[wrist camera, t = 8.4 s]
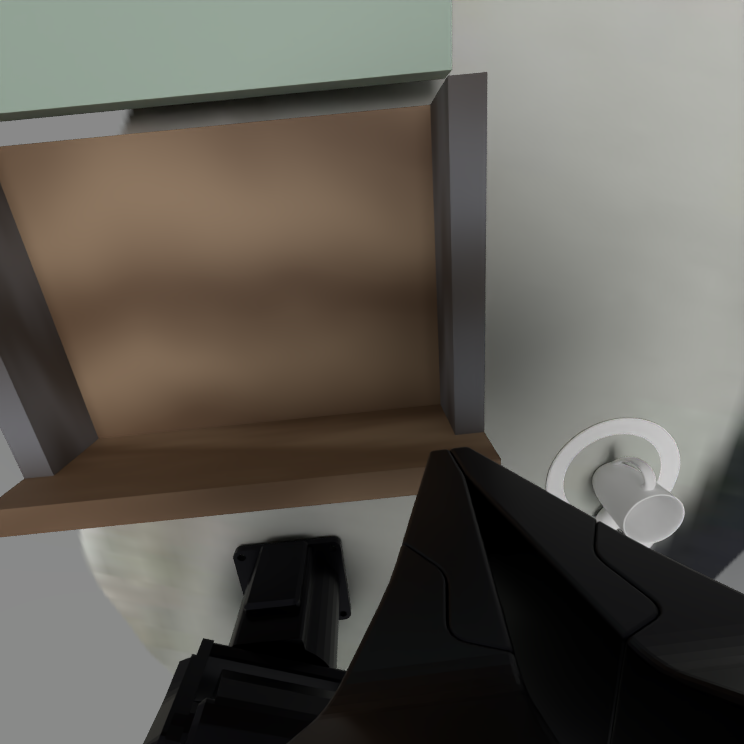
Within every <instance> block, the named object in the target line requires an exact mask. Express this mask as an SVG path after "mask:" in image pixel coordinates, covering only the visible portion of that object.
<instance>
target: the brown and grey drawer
mask: <svg viewBox="0 0 744 744" xmlns="http://www.w3.org/2000/svg"><path fill="white" fill-rule="evenodd" d="M486 164H487V72H483V73H473V74H462V75H452V76H448V77H447V78H446V80H445V82H444V83H443V85H442V86H441V88H440V90H439V91H438V93H437V95H436V96H435V98H434V99H433V101H432V103H431V104H430V105H423V106H413V107H403V108H393V109H382V110H372V111H362V112H351V113H341V114H331V115H320V116H310V117H300V118H290V119H279V120H269V121H259V122H248V123H238V124H228V125H218V126H207V127H197V128H187V129H176V130H166V131H156V132H145V133H135V134H125V135H115V136H105V137H94V138H84V139H73V140H63V141H53V142H42V143H32V144H23V145H12V146H2V147H0V428H1V430H2V433H3V435H4V437H5V439H6V441H7V443H8V445H9V447H10V449H11V451H12V453H13V455H14V457H15V460H16V462H17V463H18V466H19V468H20V470H21V472H22V474H23V476H24V478H25V479H24V480H22V481H21V482H20V483H18V484H17V485H16V486H14V487H13V488H12V489H10V490H9V491H8V492H6V493H5V494H4V495H3V496H1V497H0V537H7V536H17V535H27V534H37V533H46V532H56V531H65V530H76V529H86V528H96V527H105V526H115V525H125V524H135V523H145V522H154V521H164V520H174V519H184V518H194V517H204V516H213V515H223V514H233V513H243V512H253V511H262V510H272V509H282V508H292V507H302V506H312V505H321V504H331V503H341V502H351V501H361V500H370V499H380V498H390V497H400V496H410V495H417V493H418V490H419V487H420V483H421V480H422V477H423V473H424V470H425V467H426V464H427V460H428V457H429V454H430V452H431V451H435V450H443V449H447V450H449V451H450V449H452V448H459V447H469V448H471V449H473V450H475V451H476V452H478V453H480V454H482V455H484V456H485V457H487V458H489V459H491V460H492V461H494V462H496V463H498V464H499V465H501V458H500V457H499V455H498V454H497V452H496V450H495V449H494V447H493V446H492V444H491V442H490V441H489V439H488V438H487V436H486V434H485V433H484V384H485V274H486Z"/></svg>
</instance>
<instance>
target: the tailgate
mask: <svg viewBox="0 0 744 744" xmlns="http://www.w3.org/2000/svg"><path fill="white" fill-rule="evenodd" d="M451 70H452V0H0V121H12V120H21V119H32V118H42V117H53V116H63V115H73V114H84V113H94V112H104V111H115V110H125V109H135V108H146V107H156V106H166V105H177V104H187V103H197V102H208V101H218V100H228V99H239V98H249V97H259V96H270V95H280V94H290V93H301V92H311V91H321V90H332V89H342V88H352V87H363V86H373V85H383V84H394V83H404V82H414V81H425V80H435V79H445V78H446V76H447V75H448V74H449V73H450V71H451Z"/></svg>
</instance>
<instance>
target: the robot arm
mask: <svg viewBox="0 0 744 744" xmlns="http://www.w3.org/2000/svg"><path fill="white" fill-rule="evenodd" d="M331 545H334V547H331ZM242 555H244V556H242ZM233 559H234V563H235V566H236V570H237V574H238V577H239V581H240V584H241V588H242V591H243V595H244V597H243V600H242V604H241V607H240V610H239V614H238V617H237V620H236V623H235V627H234V630H233V633H232V637H231V640H230V643H229V646H226V645H222V644H217V643H213V642H214V640H209V639H204V638H203V640H202V643H201V645H200V648H199V650H198V653H197V655H195V654H192V656H191V657H190V658H188V659H185V660H182V661H180V662H179V664H178V667H177V669H176V672H175V674H174V677H173V679H172V682H171V684H170V687H169V689H168V692H167V694H166V696H165V699H164V701H163V703H162V705H161V708H160V710H159V712H158V714H157V716H156V718H155V720H154V722H153V724H152V726H151V728H150V731H149V733H148V735H147V737H146V739H145V741H144V743H143V744H744V594H743V593H741V592H738V591H736V590H734V589H732V588H730V587H728V586H726V585H724V584H722V583H720V582H718V581H715V580H713V579H711V578H709V577H707V576H705V575H703V574H701V573H699V572H697V571H695V570H692V569H690V568H688V567H686V566H684V565H682V564H680V563H678V562H676V561H674V560H672V559H670V558H668V557H666V556H664V555H662V554H660V553H658V552H656V551H654V550H652V549H650V548H648V547H646V546H644V545H643V544H641V543H639V542H637V541H635V540H633V539H631V538H630V537H628V536H626V535H624V534H622V533H620V532H618V531H617V530H615V529H613V528H611V527H610V526H608V525H606V524H604V523H603V522H601V521H598V522H597V520H596V519H595V518H593V517H592V516H590V515H588V514H586V513H585V512H583V511H581V510H579V509H577V508H576V507H574V506H572V505H570V504H569V503H567V502H565V501H563V500H561V499H560V498H558V497H556V496H554V495H553V494H551V493H549V492H547V491H546V490H544V489H542V488H540V487H538V486H537V485H535V484H533V483H531V482H530V481H528V480H526V479H524V478H522V477H521V476H519V475H517V474H515V473H514V472H512V471H510V470H508V469H507V468H505V467H503V466H501V465H499V464H498V463H496V462H494V461H492V460H491V459H489V458H487V457H485V456H484V455H482V454H480V453H478V452H476V451H475V450H473V449H471V448H469V447H459V448H452V449H450V451H449V450H447V449H443V450H435V451H431V452H430V454H429V457H428V460H427V464H426V467H425V470H424V473H423V477H422V480H421V483H420V487H419V490H418V493H417V497H416V500H415V503H414V506H413V510H412V513H411V516H410V520H409V523H408V526H407V530H406V533H405V536H404V540H403V543H402V546H401V549H400V552H399V555H398V558H397V562H396V564H395V567H394V570H393V573H392V576H391V579H390V581H389V584H388V586H387V588H386V591H385V593H384V595H383V597H382V600H381V602H380V604H379V606H378V608H377V610H376V612H375V615H374V617H373V619H372V621H371V623H370V625H369V627H368V629H367V631H366V633H365V635H364V637H363V639H362V641H361V643H360V645H359V647H358V649H357V651H356V653H355V655H354V657H353V659H352V661H351V663H350V665H349V667H348V669H347V671H345V670H340V669H337V646H338V623H339V620H343V619H347V618H349V617H350V616H351V604H350V598H349V591H348V585H347V578H346V572H345V565H344V559H343V552H342V546H341V541H340V540H339V539H338V538H336V537H328V538H318V539H308V540H298V541H289V542H279V543H269V544H259V545H250V546H241V547H238V548H237V549H236V550H235V553H234V556H233Z"/></svg>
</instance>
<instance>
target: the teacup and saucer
mask: <svg viewBox="0 0 744 744" xmlns="http://www.w3.org/2000/svg"><path fill="white" fill-rule="evenodd" d="M616 434H631V435H636V436H640V437H642V438H644V439H646V440H648V441H649V442H650V443H651V444H653V446H654V447H655V448H656V449H657V451H658V453H659V456H660V460H661V471H660V475H659V478H658V481H657V482H656V476H655V473H654V471H653V469H652V468H651V467H650V465H649V464H648V463H646V462H645V461H643V460H641V459H639V458H636V457H622V458H619V459H616V460H615V461H613V462H609V463H606V464H604V465H602V466H601V467H599V468H598V469H597V470H596V471H595V473H594V475H593V478H592V484H593V488H594V491H595V494H596V496H597V497H598V499H599V501H600V502H601V504H602V505H603V508H602V509H601V510H600V512H599V513H598V514H597V516H592V517H593V518H595V519H596V520H597V522H598V521H601V522H603V523H604V524H606V525H608V526H610V527H611V528H613V529H615V530H617V529H619V528H620V529H621V530H622V531H623V533H624V534H625V535H626V536H628V537H630V538H631V539H633V540H635V541H637V542H639V543H641V544H643V545H644V546H646V547H648V548H650V547H651V546H652V545H653V543H655V542H658V541H661V540H663V539H665V538H667V537H669V536H670V535H671V534H673V533H674V532H675V531H676V530H677V529H678V528H679V526H680V525H681V523H682V521H683V518H684V507H683V504H682V503H681V501H680V500H679V499H678V498H676V497H675V496H674V495H673V494H671V493H670V492H671V490H672V489H673V487H674V485H675V483H676V480H677V477H678V474H679V469H680V454H679V450H678V447H677V444H676V442H675V440H674V439H673V437H672V436H671V435H670V434H669V433H668V432H667V431H666V430H665V429H664V428H662V427H661V426H659V425H658V424H656V423H653V422H651V421H648V420H644V419H639V418H618V419H612V420H608V421H604V422H601V423H599V424H596V425H594V426H592V427H590V428H588V429H586V430H584V431H582V432H581V433H579V434H578V435H576V436H575V437H574V438H573V439H571V440H570V441H569V442H568V443H567V444H566V445H565V446H564V447H563V448H562V449H561V451H560V452H559V453H558V455H557V456H556V458H555V459H554V461H553V463H552V465H551V467H550V469H549V472H548V476H547V481H546V491H547V492H549V493H551V494H553V495H554V496H556V497H558V498H560V499H561V500H563V501H565V502H567V503H569V502H568V500H567V499H566V496H565V493H564V488H563V482H564V476H565V473H566V470H567V468H568V466H569V464H570V463H571V461H572V460H573V459H574V457H575V456H576V455H577V454H578V453H579V452H580V451H581V450H582V449H584V448H585V447H586V446H588V445H589V444H591V443H593V442H594V441H596V440H599V439H601V438H604V437H607V436H611V435H616ZM622 462H630V463H632V464H634V465H636V466H637V467H638V468H639V469H640V470H641V472H640V471H639V470H637V469H635V468H633V467H631V466H629V465H626V464H623V463H622ZM569 504H570V503H569Z"/></svg>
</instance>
